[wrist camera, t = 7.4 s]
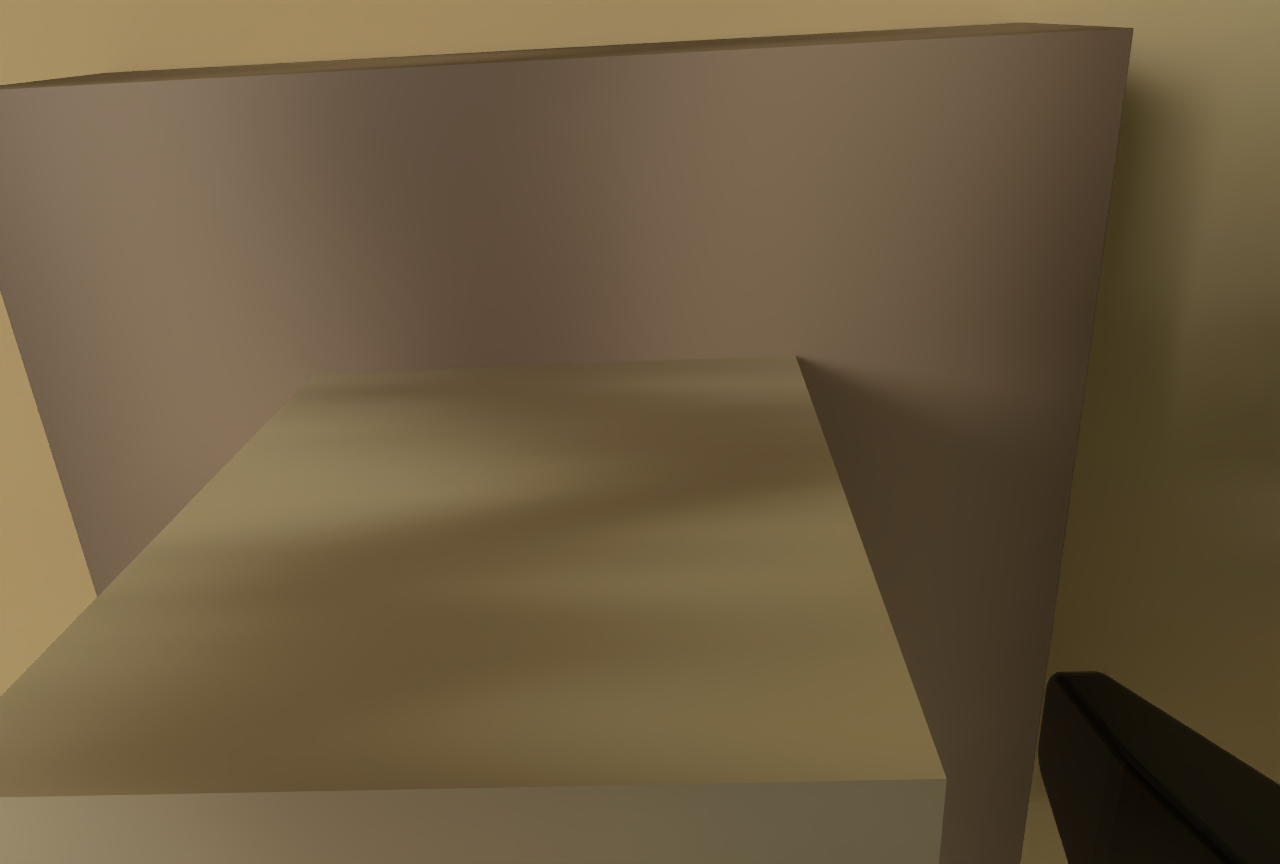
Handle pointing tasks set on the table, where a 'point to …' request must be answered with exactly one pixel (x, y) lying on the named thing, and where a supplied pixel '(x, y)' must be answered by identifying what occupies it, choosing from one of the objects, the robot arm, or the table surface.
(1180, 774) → the robot arm
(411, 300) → the pedestal
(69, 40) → the table surface
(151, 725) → the beige cube
